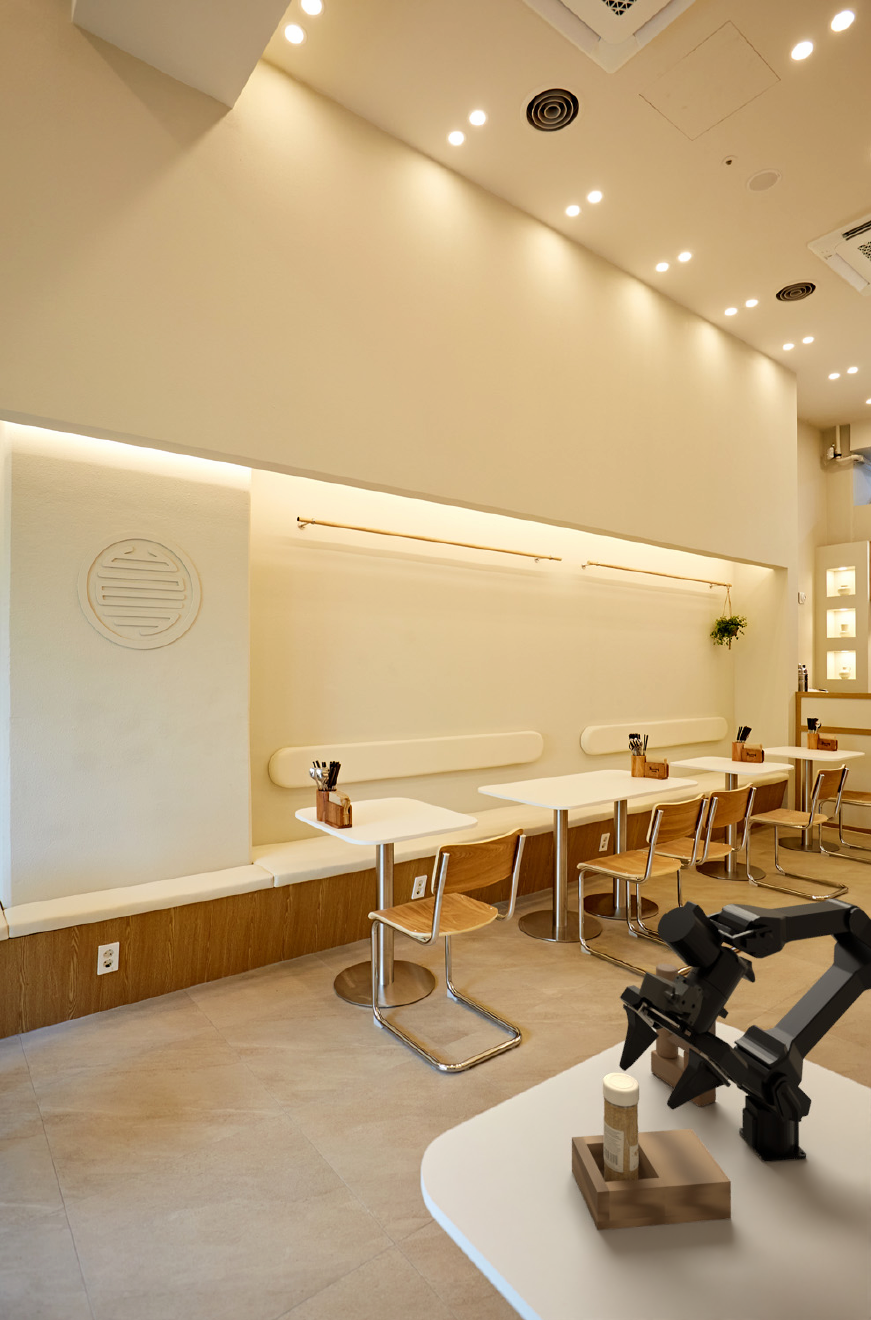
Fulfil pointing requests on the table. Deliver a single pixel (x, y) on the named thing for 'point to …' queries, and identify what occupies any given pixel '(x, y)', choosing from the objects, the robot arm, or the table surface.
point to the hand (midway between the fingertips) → (644, 1087)
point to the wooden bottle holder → (653, 1182)
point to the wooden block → (674, 1049)
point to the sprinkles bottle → (620, 1127)
